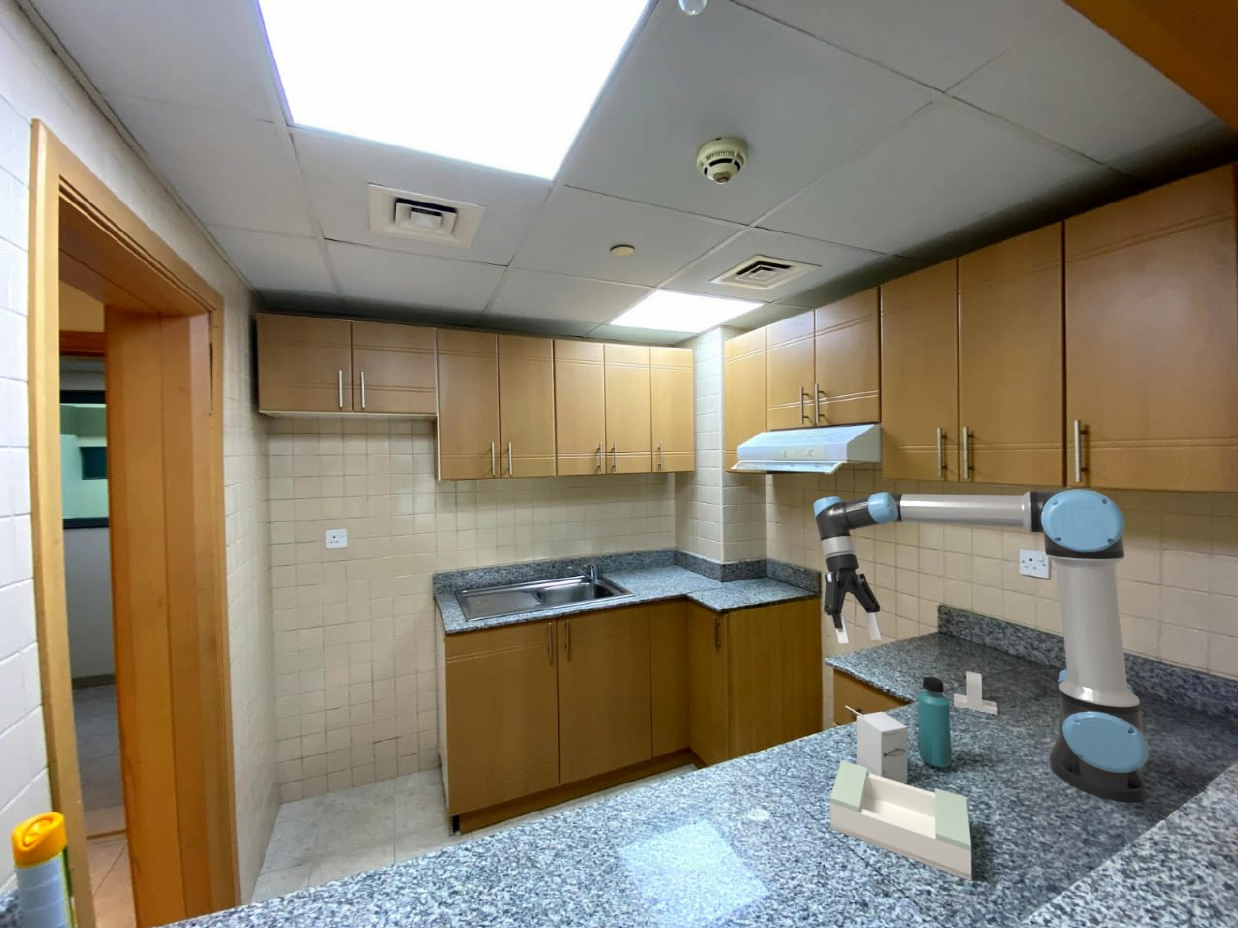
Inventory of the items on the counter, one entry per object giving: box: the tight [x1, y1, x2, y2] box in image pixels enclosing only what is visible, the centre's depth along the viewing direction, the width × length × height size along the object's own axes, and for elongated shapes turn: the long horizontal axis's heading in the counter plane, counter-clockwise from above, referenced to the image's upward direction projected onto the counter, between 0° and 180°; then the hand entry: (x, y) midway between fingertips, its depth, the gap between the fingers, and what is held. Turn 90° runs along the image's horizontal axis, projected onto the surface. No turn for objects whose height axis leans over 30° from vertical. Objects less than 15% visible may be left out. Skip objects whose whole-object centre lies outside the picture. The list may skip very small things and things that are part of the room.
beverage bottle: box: [917, 676, 953, 768], centre depth 113 cm, size 6×7×20 cm
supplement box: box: [856, 711, 908, 784], centre depth 109 cm, size 7×7×13 cm
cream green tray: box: [829, 760, 972, 882], centre depth 93 cm, size 22×14×6 cm, turn 57°
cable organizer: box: [953, 670, 998, 715], centre depth 139 cm, size 5×10×10 cm, turn 56°
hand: (861, 641), depth 120 cm, fingers open, 13 cm apart
